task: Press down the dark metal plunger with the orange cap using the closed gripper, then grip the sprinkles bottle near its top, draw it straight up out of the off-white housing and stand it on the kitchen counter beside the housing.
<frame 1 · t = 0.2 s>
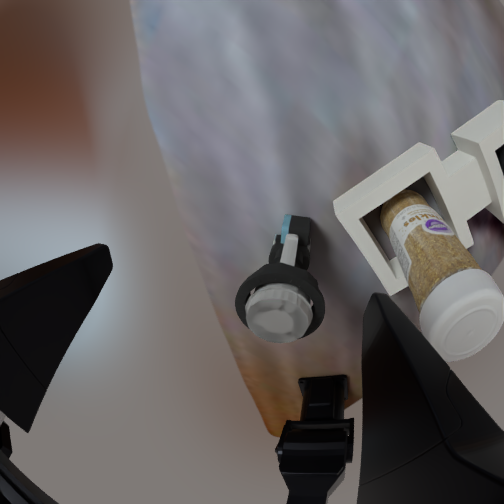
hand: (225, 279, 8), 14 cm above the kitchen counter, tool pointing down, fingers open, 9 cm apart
sprinkles bottle: (402, 213, 20), resting in housing
push button: (292, 245, 24), on the kitchen counter
housing: (403, 214, 20), on the kitchen counter
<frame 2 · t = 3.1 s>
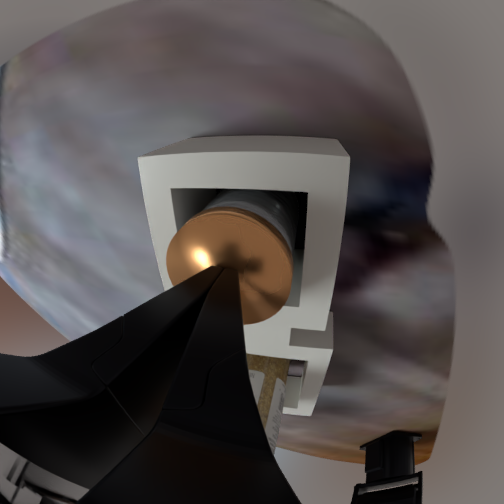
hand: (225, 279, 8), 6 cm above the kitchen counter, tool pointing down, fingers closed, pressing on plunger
sprinkles bottle: (263, 346, 19), resting in housing
plunger: (245, 236, 11), point 3 cm above the kitchen counter, slide at -1.4 cm, touching gripper
housing: (262, 349, 19), on the kitchen counter
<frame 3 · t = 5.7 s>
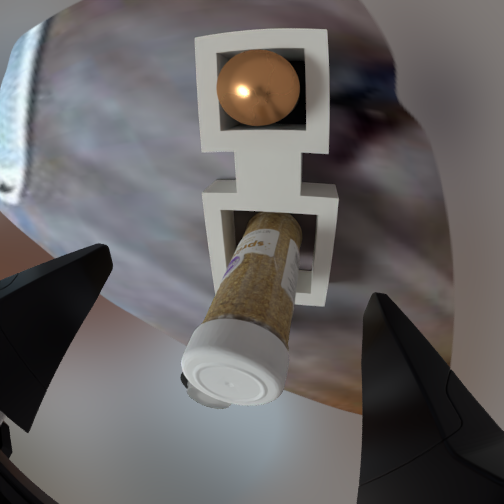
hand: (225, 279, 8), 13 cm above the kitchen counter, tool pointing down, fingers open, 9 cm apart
sprinkles bottle: (274, 233, 22), resting in housing
plunger: (265, 89, 13), point 3 cm above the kitchen counter, slide at -1.8 cm
push button: (243, 316, 27), on the kitchen counter
housing: (274, 234, 21), on the kitchen counter
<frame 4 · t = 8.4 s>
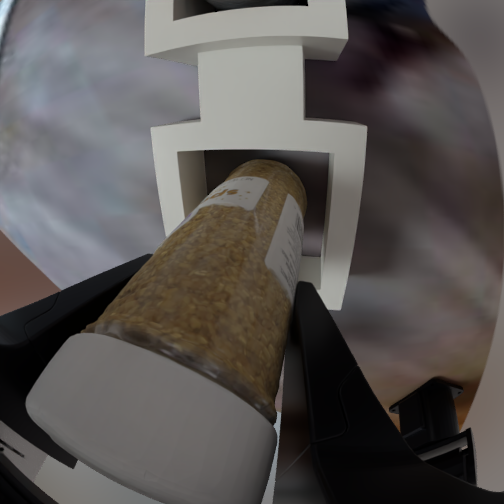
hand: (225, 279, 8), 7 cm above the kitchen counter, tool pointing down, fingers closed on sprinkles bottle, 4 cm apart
sprinkles bottle: (265, 198, 14), resting in housing, touching gripper
housing: (264, 199, 14), on the kitchen counter
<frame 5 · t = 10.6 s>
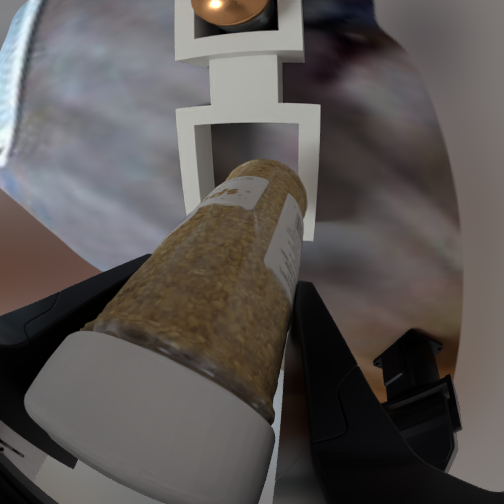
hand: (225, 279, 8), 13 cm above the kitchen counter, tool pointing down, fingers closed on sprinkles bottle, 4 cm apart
sprinkles bottle: (265, 198, 14), point 5 cm above the kitchen counter, touching gripper
plunger: (241, 7, 11), point 3 cm above the kitchen counter, slide at -1.8 cm
housing: (255, 162, 19), on the kitchen counter
when the fingers open (8 cm above the kitchen counter, at t = 12.8 s): sprinkles bottle stays where it is, on the kitchen counter.
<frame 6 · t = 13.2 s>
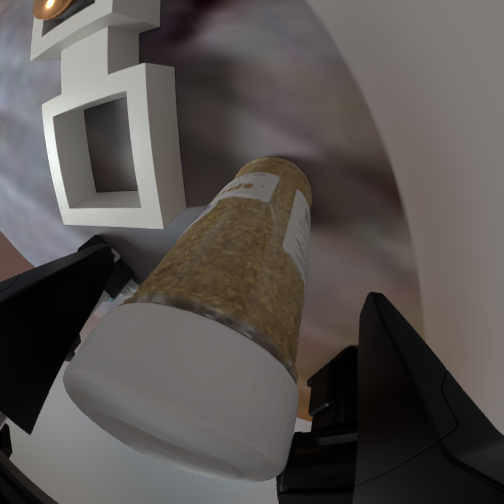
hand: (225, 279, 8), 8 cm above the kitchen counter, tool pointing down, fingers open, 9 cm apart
sprinkles bottle: (272, 194, 15), on the kitchen counter
push button: (118, 264, 21), on the kitchen counter
housing: (120, 145, 15), on the kitchen counter
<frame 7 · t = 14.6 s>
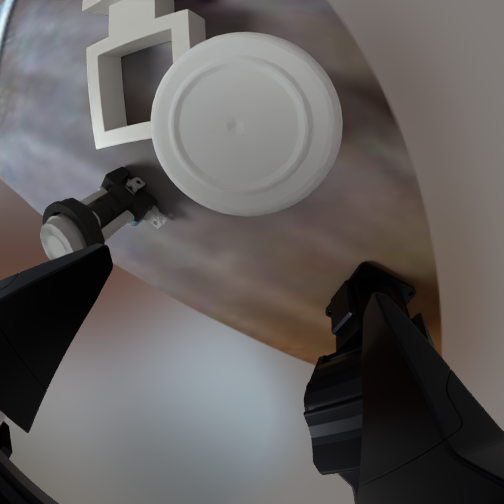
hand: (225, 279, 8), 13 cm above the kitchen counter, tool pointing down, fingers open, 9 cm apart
sprinkles bottle: (286, 109, 17), on the kitchen counter
push button: (141, 195, 22), on the kitchen counter
housing: (155, 81, 17), on the kitchen counter
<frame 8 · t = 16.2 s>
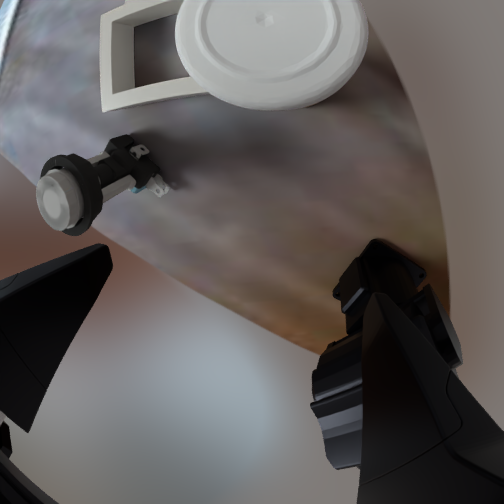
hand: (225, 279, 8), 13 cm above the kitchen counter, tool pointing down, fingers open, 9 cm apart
sprinkles bottle: (298, 78, 15), on the kitchen counter
push button: (145, 164, 21), on the kitchen counter
housing: (167, 49, 15), on the kitchen counter
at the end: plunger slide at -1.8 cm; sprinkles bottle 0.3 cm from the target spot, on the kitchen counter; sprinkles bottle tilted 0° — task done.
